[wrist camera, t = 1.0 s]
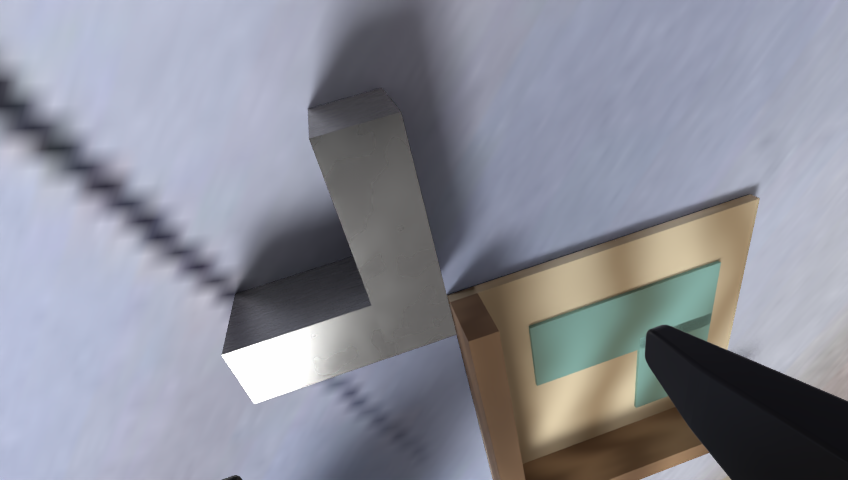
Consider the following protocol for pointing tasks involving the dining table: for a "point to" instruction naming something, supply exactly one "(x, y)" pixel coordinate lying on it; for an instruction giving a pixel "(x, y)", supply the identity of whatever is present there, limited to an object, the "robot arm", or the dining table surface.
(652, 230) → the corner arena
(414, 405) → the dining table surface
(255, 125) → the dining table surface
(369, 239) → the angle bracket
